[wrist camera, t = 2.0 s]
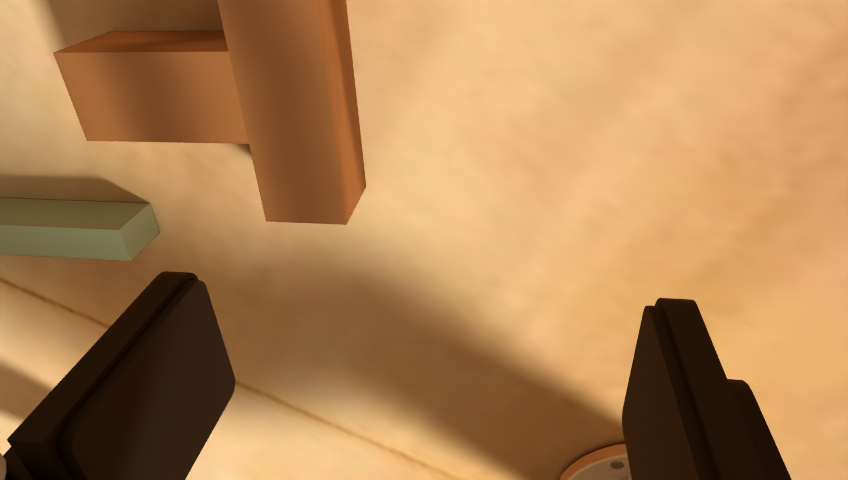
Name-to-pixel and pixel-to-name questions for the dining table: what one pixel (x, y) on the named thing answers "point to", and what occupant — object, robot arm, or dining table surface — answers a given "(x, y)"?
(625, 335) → the dining table surface
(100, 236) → the frame
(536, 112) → the dining table surface
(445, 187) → the dining table surface
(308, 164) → the t block
